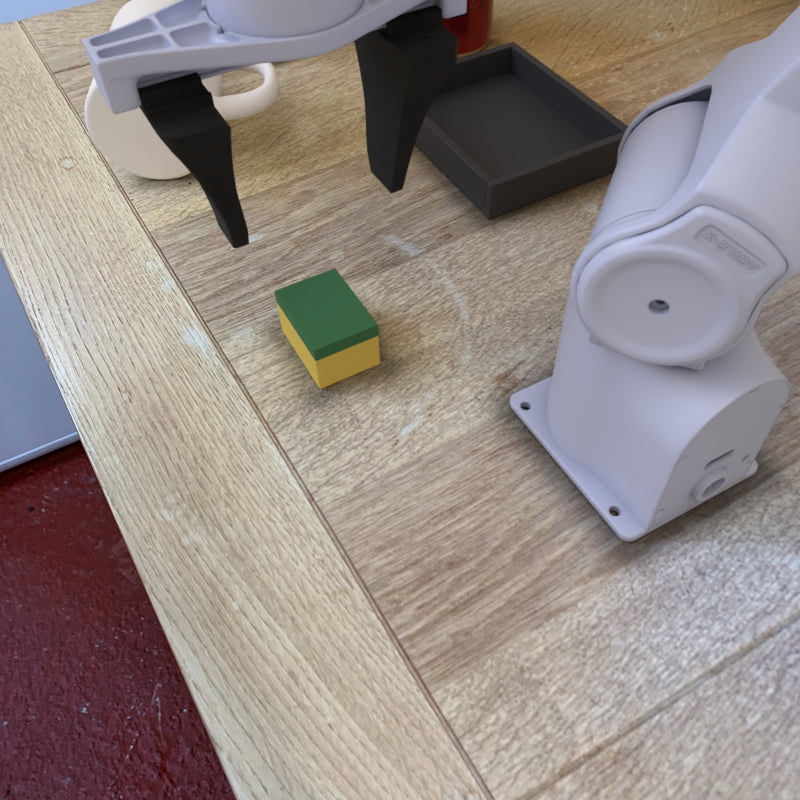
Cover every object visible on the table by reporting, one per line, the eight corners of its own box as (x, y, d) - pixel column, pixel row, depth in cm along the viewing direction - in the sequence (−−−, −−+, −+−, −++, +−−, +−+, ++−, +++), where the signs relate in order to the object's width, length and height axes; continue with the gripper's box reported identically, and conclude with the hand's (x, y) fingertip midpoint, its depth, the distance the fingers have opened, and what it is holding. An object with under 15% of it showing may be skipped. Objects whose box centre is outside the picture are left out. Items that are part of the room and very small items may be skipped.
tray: (629, 166, 53) (637, 132, 51) (489, 219, 50) (491, 186, 48) (510, 72, 61) (513, 41, 59) (382, 113, 58) (380, 81, 56)
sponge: (380, 364, 42) (378, 324, 40) (320, 390, 41) (313, 351, 39) (339, 307, 45) (335, 267, 43) (281, 330, 44) (273, 290, 42)
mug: (106, 184, 53) (64, 71, 47) (128, 104, 59) (94, -5, 53) (285, 174, 53) (267, 60, 47) (289, 95, 60) (273, -14, 54)
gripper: (403, -209, 30) (408, 118, 40) (10, -135, 26) (131, 209, 36) (509, -157, 26) (484, 191, 36) (65, -59, 22) (182, 303, 32)
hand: (312, 206), depth 36 cm, fingers open, 7 cm apart
